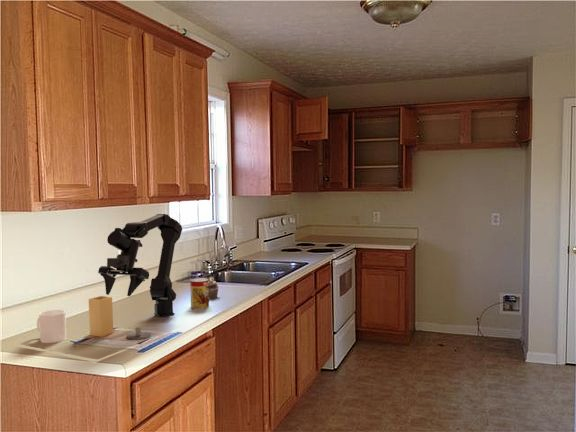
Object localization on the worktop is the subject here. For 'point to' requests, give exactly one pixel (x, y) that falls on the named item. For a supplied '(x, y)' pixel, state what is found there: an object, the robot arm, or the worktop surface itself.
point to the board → (125, 335)
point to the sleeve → (100, 316)
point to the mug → (52, 326)
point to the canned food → (199, 293)
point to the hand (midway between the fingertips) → (117, 295)
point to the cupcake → (212, 287)
